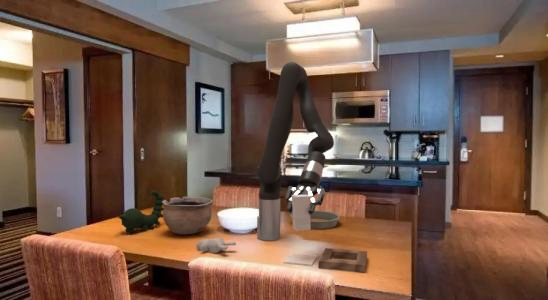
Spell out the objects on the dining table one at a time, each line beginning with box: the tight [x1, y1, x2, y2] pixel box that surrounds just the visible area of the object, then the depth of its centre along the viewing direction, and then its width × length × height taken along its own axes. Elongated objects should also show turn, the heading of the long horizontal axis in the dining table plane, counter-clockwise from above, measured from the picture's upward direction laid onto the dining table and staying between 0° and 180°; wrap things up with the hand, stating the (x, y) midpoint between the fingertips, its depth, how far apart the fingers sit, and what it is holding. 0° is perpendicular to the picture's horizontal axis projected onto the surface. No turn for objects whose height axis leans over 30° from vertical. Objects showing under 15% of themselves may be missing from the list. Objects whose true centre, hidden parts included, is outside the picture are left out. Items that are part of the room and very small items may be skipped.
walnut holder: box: [318, 247, 368, 274], centre depth 131 cm, size 15×15×2 cm
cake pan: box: [289, 210, 341, 230], centre depth 190 cm, size 25×25×4 cm
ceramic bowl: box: [162, 196, 213, 236], centre depth 172 cm, size 22×22×15 cm
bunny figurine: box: [195, 236, 237, 254], centre depth 145 cm, size 10×5×15 cm
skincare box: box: [291, 195, 312, 231], centre depth 134 cm, size 6×4×12 cm
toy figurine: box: [117, 190, 165, 235], centre depth 176 cm, size 9×19×25 cm
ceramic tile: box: [283, 252, 318, 267], centre depth 135 cm, size 10×10×1 cm
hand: (299, 212), depth 133 cm, fingers closed on skincare box, 7 cm apart
